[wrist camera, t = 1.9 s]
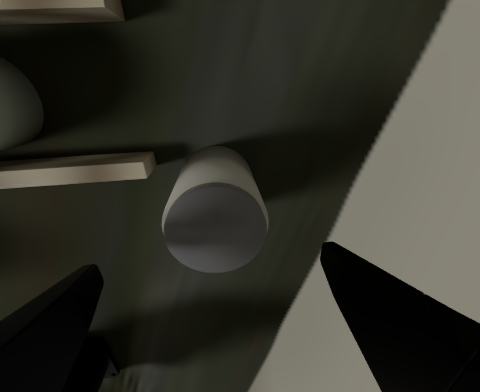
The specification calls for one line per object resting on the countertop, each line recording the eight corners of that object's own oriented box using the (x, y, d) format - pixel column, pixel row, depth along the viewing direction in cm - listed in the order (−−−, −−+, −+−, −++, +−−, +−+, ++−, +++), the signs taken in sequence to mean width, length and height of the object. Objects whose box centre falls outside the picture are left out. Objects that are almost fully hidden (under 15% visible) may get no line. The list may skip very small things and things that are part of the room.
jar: (252, 208, 18) (270, 270, 12) (186, 214, 17) (170, 280, 11) (251, 143, 15) (272, 179, 9) (174, 148, 15) (147, 188, 9)
